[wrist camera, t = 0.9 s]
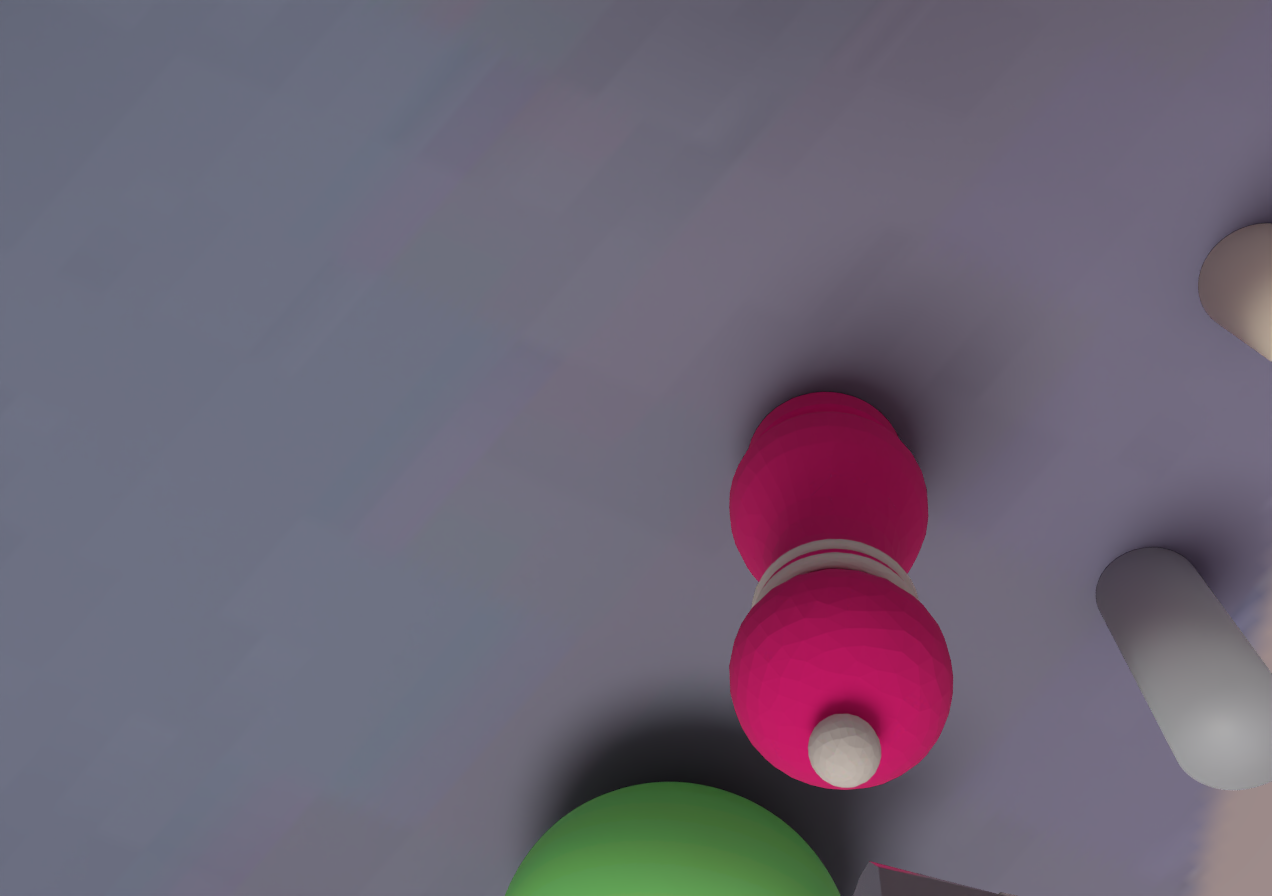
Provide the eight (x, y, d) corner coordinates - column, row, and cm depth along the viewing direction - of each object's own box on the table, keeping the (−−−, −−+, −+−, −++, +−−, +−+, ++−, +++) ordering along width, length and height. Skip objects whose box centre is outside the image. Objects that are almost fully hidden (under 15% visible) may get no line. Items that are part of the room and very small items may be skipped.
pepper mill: (933, 394, 43) (1038, 671, 25) (894, 557, 46) (963, 917, 28) (750, 365, 44) (718, 615, 26) (722, 528, 47) (675, 862, 28)
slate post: (1117, 536, 45) (1202, 672, 35) (1216, 561, 44) (1327, 704, 35) (1081, 621, 46) (1153, 772, 37) (1177, 645, 46) (1273, 803, 37)
